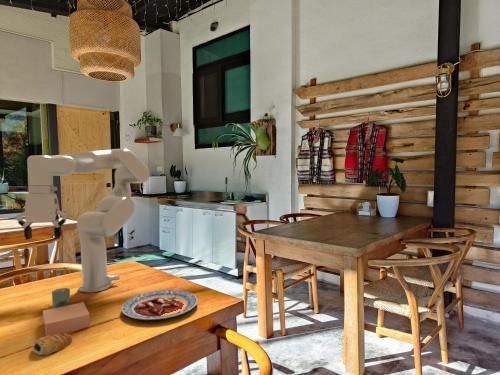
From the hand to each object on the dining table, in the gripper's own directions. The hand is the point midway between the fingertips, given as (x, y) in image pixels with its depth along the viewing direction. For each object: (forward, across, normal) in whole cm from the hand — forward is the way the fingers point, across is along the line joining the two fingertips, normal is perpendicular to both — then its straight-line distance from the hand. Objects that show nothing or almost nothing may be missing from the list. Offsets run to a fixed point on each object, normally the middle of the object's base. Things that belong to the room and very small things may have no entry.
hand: (43, 238), depth 125 cm
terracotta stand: (+25, -13, +16) cm, 32 cm away
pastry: (+26, -15, +30) cm, 43 cm away
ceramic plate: (+25, -41, +7) cm, 49 cm away
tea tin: (+25, -7, +3) cm, 26 cm away
